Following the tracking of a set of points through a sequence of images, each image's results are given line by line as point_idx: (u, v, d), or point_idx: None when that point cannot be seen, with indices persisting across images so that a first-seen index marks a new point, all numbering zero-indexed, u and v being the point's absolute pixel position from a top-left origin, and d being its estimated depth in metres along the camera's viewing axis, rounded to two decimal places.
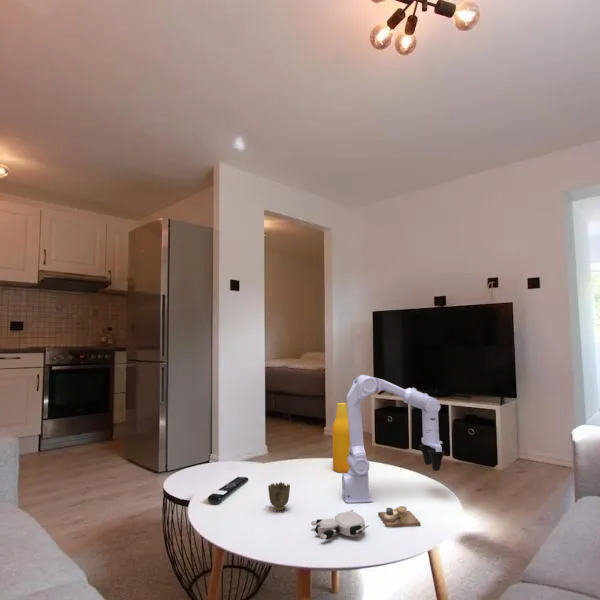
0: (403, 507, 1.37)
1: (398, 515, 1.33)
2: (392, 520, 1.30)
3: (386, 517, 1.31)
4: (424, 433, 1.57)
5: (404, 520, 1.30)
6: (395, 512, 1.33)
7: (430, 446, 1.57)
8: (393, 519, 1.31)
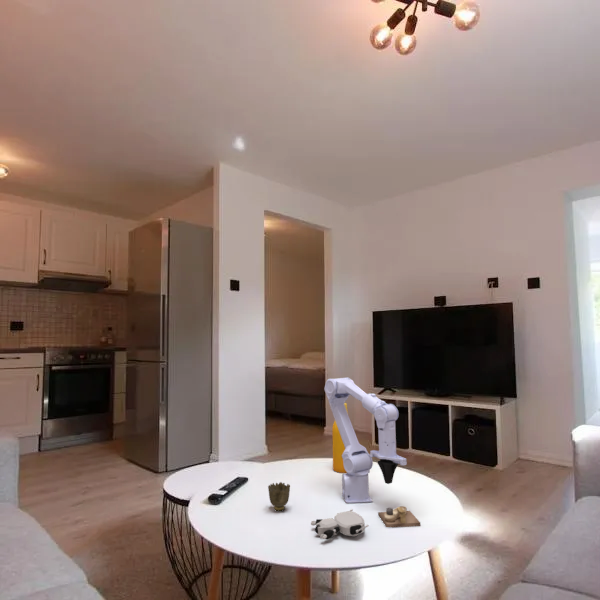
0: (403, 507, 1.37)
1: (398, 515, 1.33)
2: (392, 520, 1.30)
3: (386, 517, 1.31)
4: None
5: (404, 520, 1.30)
6: (395, 512, 1.33)
7: (388, 459, 1.43)
8: (393, 519, 1.31)
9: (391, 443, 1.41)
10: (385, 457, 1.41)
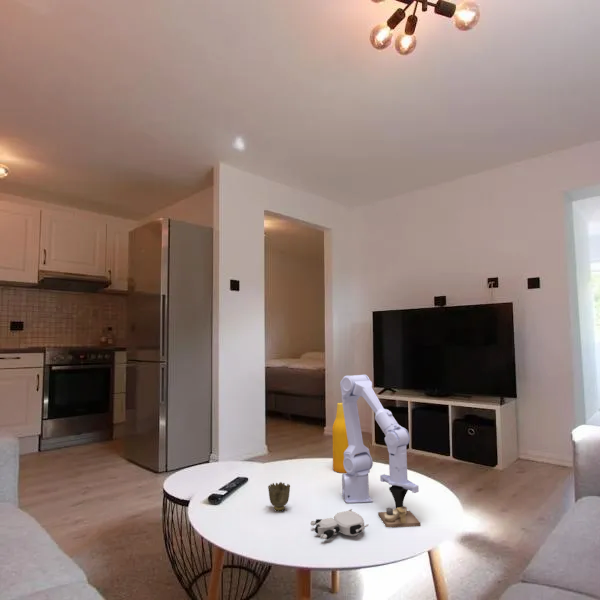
0: (403, 507, 1.37)
1: (398, 515, 1.33)
2: (392, 520, 1.30)
3: (386, 517, 1.31)
4: None
5: (404, 520, 1.30)
6: (395, 512, 1.33)
7: (399, 485, 1.39)
8: (393, 519, 1.31)
9: (402, 469, 1.37)
10: (396, 483, 1.37)
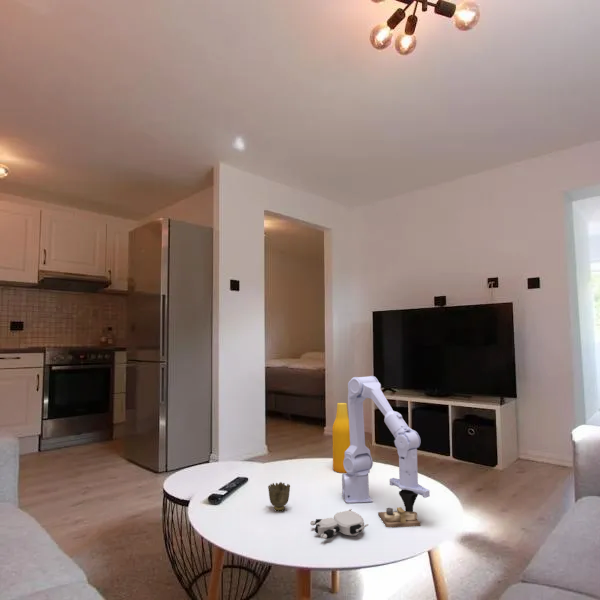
0: (413, 513, 1.33)
1: None
2: (389, 520, 1.30)
3: None
4: None
5: (404, 520, 1.30)
6: (397, 514, 1.32)
7: (409, 489, 1.36)
8: (390, 519, 1.30)
9: (413, 473, 1.33)
10: (406, 487, 1.33)
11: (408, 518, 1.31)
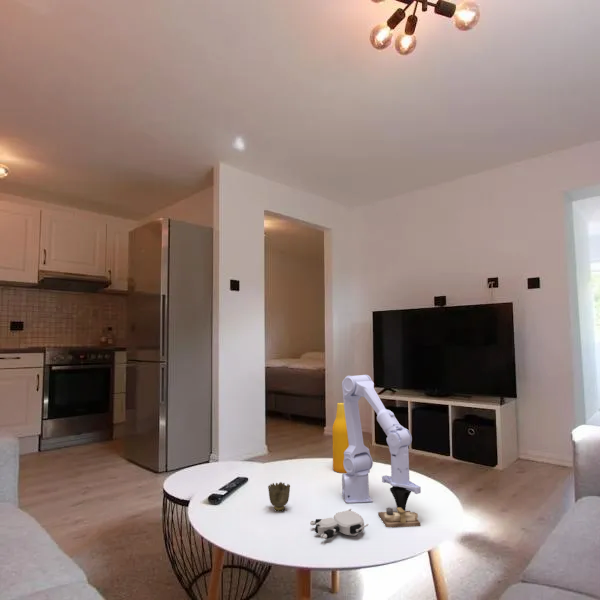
0: (414, 513, 1.32)
1: None
2: (388, 520, 1.31)
3: None
4: None
5: (404, 520, 1.30)
6: (398, 514, 1.32)
7: None
8: (390, 519, 1.30)
9: (404, 470, 1.36)
10: (398, 484, 1.36)
11: (408, 519, 1.31)
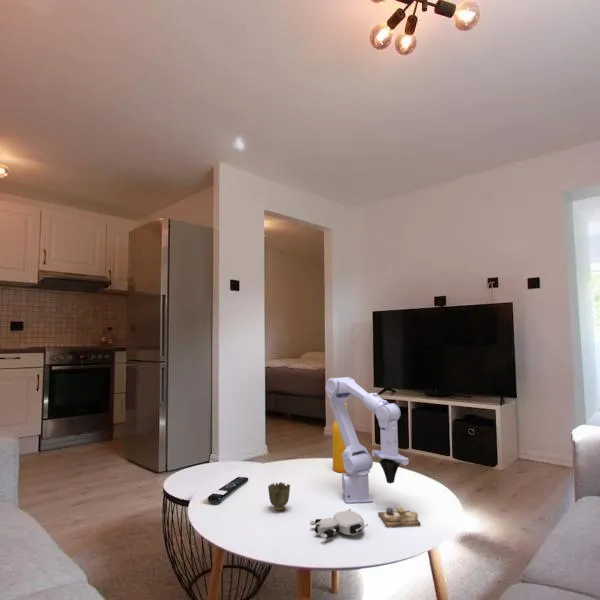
0: (414, 513, 1.32)
1: None
2: (388, 520, 1.31)
3: None
4: None
5: (404, 520, 1.30)
6: (398, 514, 1.32)
7: (390, 459, 1.43)
8: (389, 519, 1.30)
9: (393, 443, 1.41)
10: (387, 457, 1.40)
11: (408, 519, 1.31)
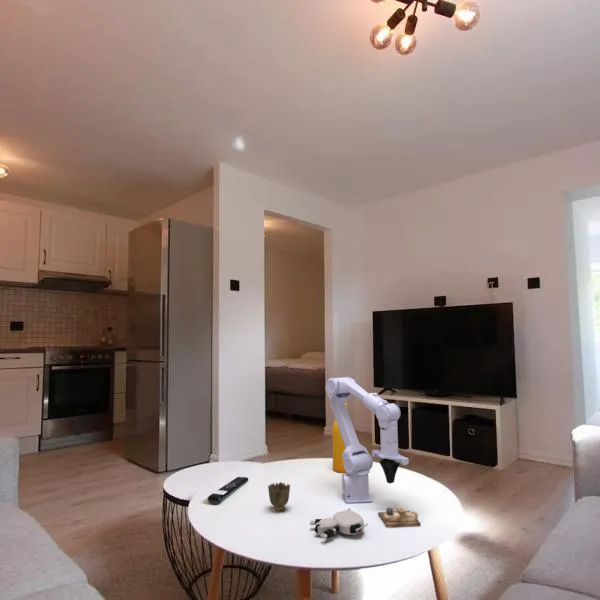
0: (414, 513, 1.32)
1: None
2: (388, 520, 1.31)
3: None
4: None
5: (404, 520, 1.30)
6: (398, 514, 1.32)
7: (390, 459, 1.43)
8: (389, 519, 1.30)
9: (393, 443, 1.41)
10: (387, 457, 1.40)
11: (408, 519, 1.31)
